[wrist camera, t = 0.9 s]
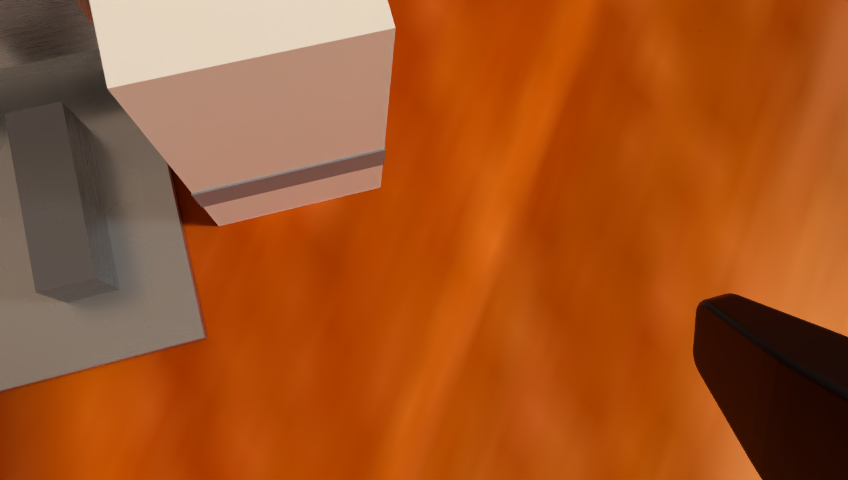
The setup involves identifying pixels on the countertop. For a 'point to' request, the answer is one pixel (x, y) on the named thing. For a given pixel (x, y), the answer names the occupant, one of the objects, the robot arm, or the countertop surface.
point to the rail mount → (80, 210)
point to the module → (255, 95)
